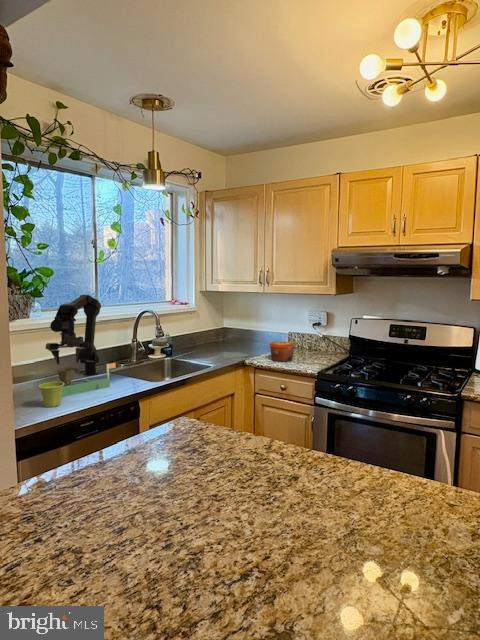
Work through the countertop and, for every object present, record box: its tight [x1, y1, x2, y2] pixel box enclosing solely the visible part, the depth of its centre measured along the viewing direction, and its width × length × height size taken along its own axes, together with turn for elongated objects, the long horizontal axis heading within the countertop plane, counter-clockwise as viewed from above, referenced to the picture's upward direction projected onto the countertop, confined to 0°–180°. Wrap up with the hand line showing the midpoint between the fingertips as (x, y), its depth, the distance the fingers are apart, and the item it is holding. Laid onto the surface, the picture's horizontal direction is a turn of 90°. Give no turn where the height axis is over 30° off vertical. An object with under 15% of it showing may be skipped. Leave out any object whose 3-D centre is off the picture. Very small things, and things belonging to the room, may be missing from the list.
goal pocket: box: [62, 362, 117, 397], centre depth 193 cm, size 12×30×11 cm, turn 135°
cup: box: [57, 366, 75, 386], centre depth 200 cm, size 8×7×8 cm
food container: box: [269, 340, 296, 363], centre depth 258 cm, size 16×16×11 cm
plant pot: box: [38, 381, 65, 408], centre depth 169 cm, size 9×9×9 cm
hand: (67, 363), depth 199 cm, fingers open, 9 cm apart
